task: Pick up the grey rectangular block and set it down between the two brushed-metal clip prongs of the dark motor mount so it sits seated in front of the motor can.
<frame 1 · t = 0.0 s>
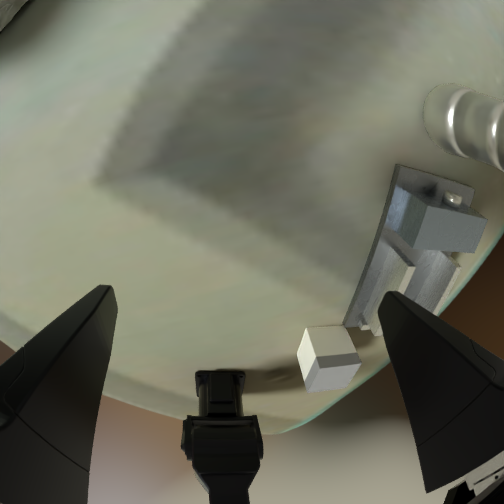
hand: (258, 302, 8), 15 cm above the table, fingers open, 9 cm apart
grey rectangular block: (320, 340, 33), on the table
plastic bottle: (437, 114, 19), on the table
motor mount: (410, 260, 27), on the table
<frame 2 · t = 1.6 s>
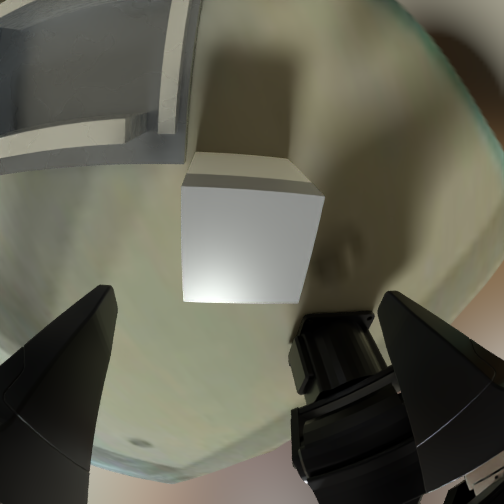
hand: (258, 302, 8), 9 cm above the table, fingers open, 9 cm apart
grey rectangular block: (237, 197, 16), on the table
motor mount: (45, 70, 10), on the table
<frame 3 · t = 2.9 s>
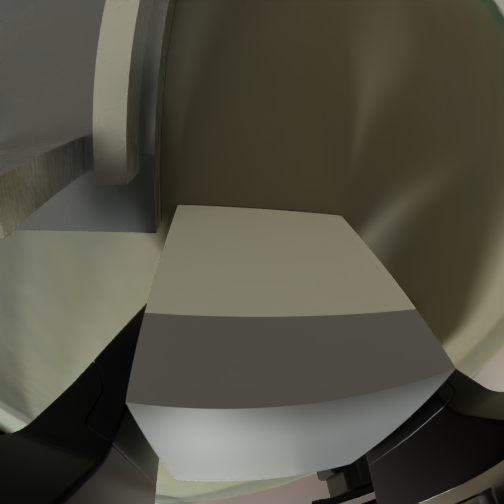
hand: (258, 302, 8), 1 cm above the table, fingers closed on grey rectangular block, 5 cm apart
grey rectangular block: (254, 278, 9), on the table, touching gripper
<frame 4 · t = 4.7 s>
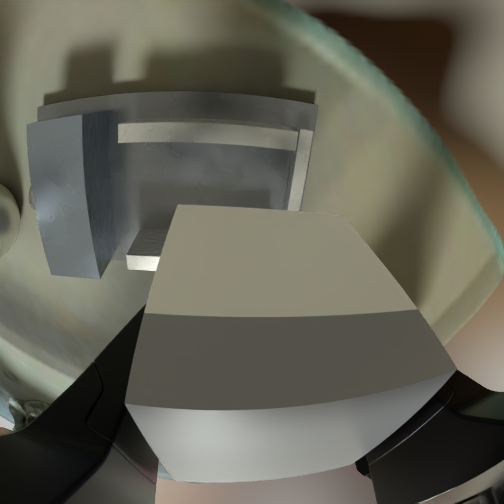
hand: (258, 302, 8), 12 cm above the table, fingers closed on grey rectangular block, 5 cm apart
grey rectangular block: (254, 278, 9), point 11 cm above the table, touching gripper
plastic bottle: (5, 208, 17), on the table
motor mount: (168, 180, 18), on the table
rose bouquet: (51, 422, 39), on the table
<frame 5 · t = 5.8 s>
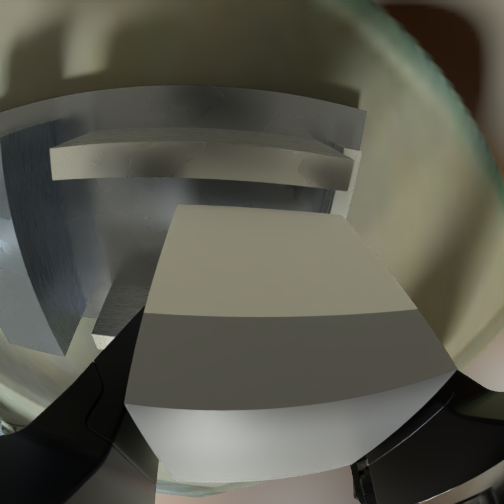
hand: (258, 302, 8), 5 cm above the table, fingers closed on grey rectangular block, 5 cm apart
grey rectangular block: (254, 278, 9), point 4 cm above the table, touching gripper
motor mount: (146, 219, 12), on the table
when the fingers open (3 cm above the table, at t = 6.6 s): grey rectangular block drops 1 cm, resting on motor mount.
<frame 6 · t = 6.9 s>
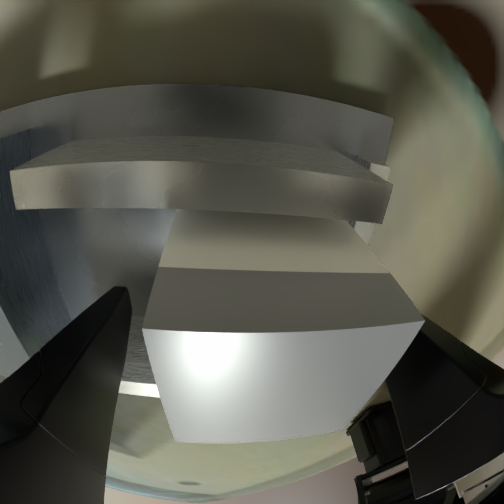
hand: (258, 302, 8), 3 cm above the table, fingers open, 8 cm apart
grey rectangular block: (250, 257, 10), point 1 cm above the table, touching motor mount
motor mount: (135, 242, 10), on the table
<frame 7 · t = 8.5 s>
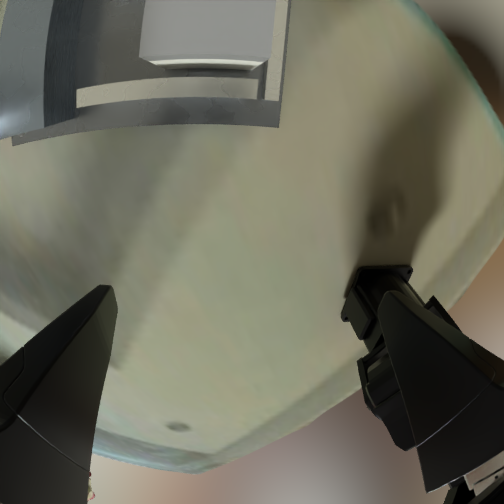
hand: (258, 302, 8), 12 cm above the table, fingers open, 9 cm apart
grey rectangular block: (211, 30, 12), point 1 cm above the table, touching motor mount
motor mount: (138, 37, 12), on the table
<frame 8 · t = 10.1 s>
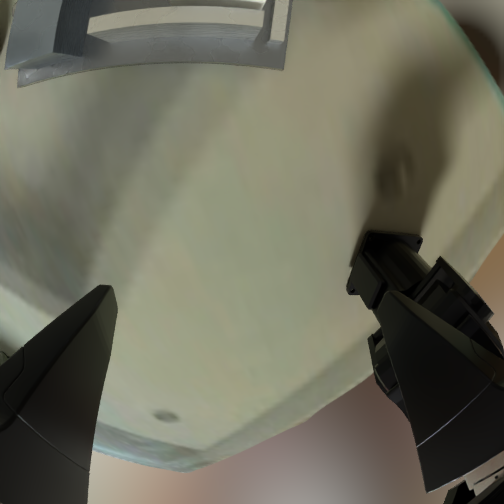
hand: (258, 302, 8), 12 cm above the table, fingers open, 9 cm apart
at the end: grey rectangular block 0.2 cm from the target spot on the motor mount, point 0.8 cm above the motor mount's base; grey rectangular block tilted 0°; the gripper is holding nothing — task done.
